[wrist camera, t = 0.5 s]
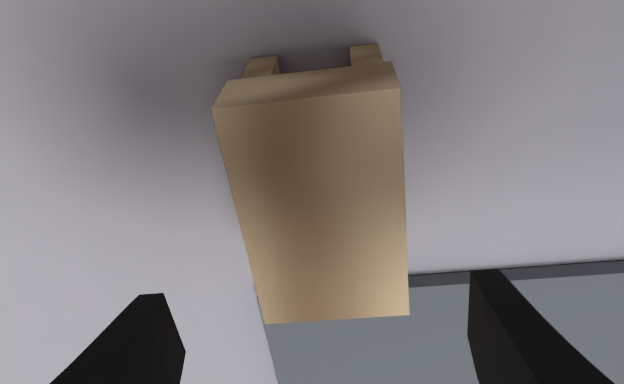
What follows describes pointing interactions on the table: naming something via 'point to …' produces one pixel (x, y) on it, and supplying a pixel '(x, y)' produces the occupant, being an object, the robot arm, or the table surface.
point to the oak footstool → (319, 186)
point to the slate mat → (453, 329)
